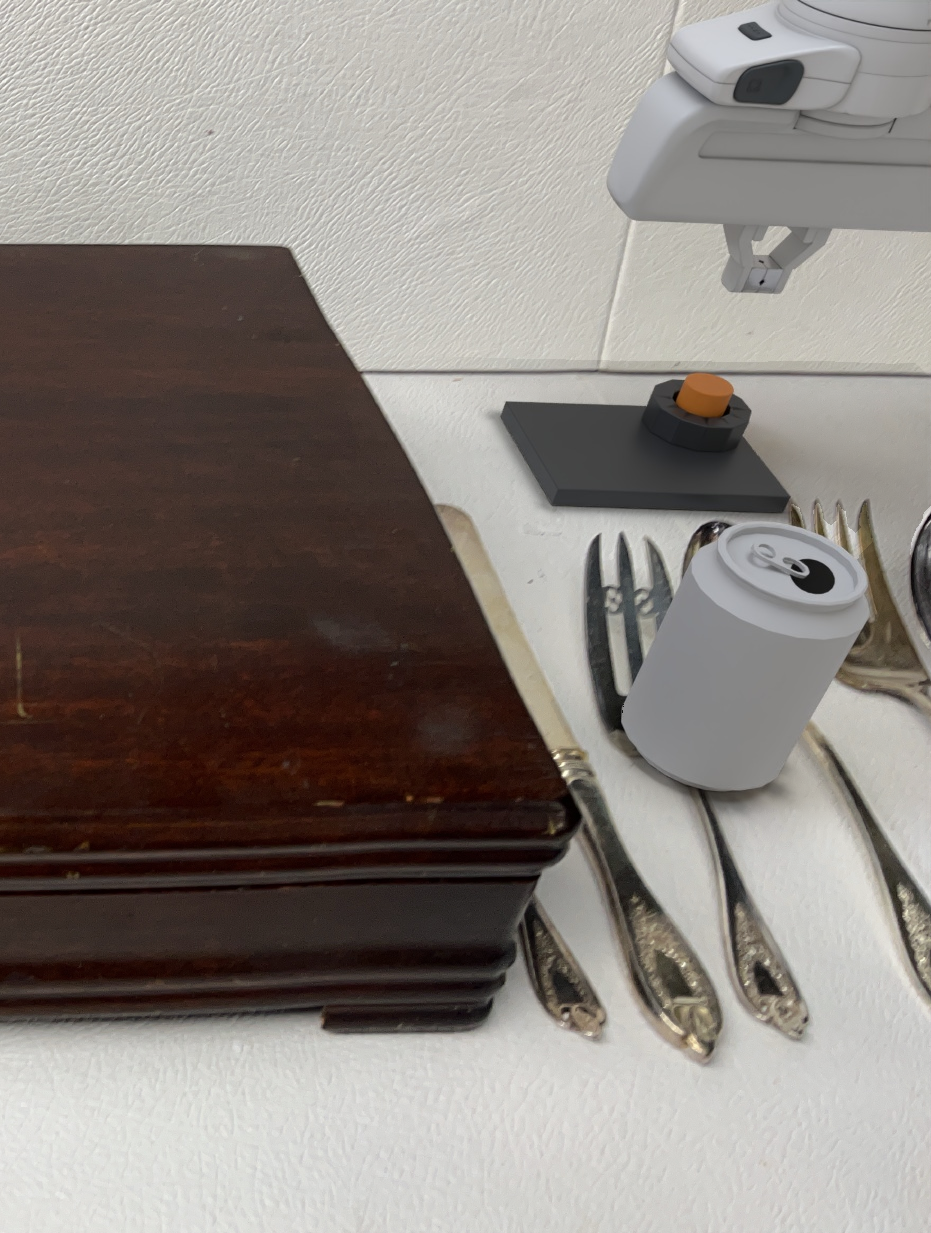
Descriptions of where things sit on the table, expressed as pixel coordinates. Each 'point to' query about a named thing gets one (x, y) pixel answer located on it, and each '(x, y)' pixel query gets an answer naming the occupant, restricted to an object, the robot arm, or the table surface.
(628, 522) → the table surface
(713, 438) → the black flat block
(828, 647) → the can
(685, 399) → the button
